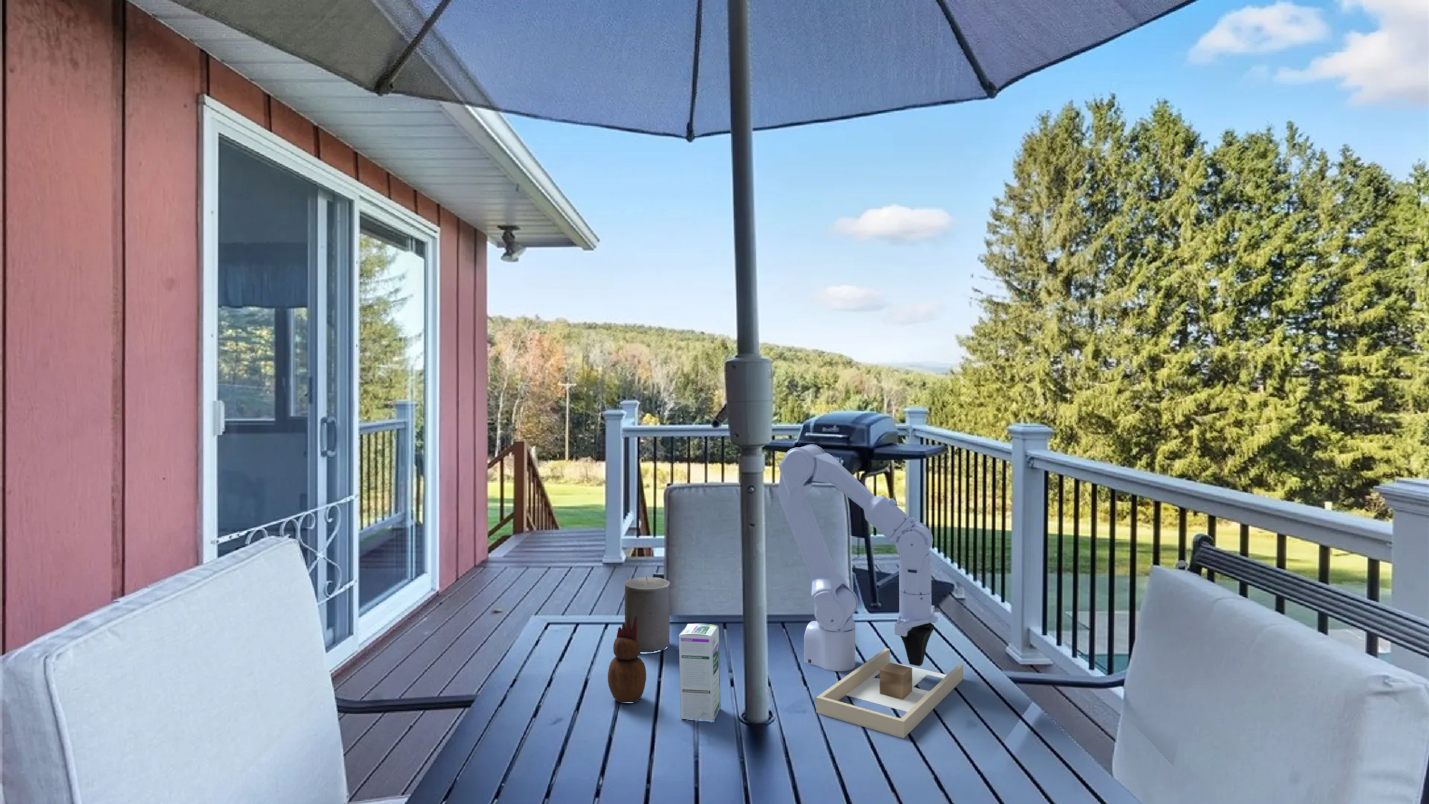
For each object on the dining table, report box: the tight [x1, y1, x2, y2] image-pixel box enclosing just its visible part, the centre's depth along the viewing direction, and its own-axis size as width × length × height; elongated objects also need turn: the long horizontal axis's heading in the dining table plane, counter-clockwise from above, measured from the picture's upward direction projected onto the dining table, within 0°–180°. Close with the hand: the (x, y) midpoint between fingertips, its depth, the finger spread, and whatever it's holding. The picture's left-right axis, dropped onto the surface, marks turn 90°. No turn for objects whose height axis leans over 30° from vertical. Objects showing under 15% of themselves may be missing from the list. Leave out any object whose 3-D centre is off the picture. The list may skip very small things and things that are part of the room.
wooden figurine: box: [607, 616, 647, 703], centre depth 128 cm, size 7×6×15 cm
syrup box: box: [678, 623, 721, 721], centre depth 122 cm, size 6×6×14 cm
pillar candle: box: [624, 576, 671, 652], centre depth 155 cm, size 10×10×15 cm
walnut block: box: [879, 662, 912, 700], centre depth 127 cm, size 4×4×4 cm
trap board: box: [815, 647, 964, 739], centre depth 126 cm, size 15×28×4 cm, turn 143°
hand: (915, 664), depth 134 cm, fingers closed
